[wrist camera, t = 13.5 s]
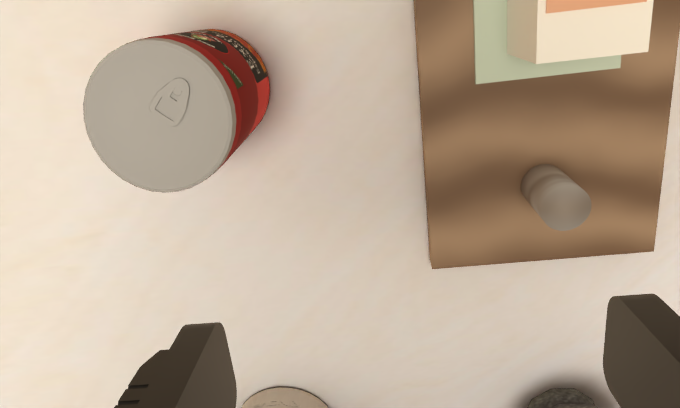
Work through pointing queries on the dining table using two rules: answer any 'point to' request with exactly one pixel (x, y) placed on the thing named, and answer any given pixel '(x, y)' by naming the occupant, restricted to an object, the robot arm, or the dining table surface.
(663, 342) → the robot arm
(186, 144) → the canned food
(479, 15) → the mat
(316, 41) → the dining table surface
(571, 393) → the mortar and pestle
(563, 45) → the cream drawer box
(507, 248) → the post board
